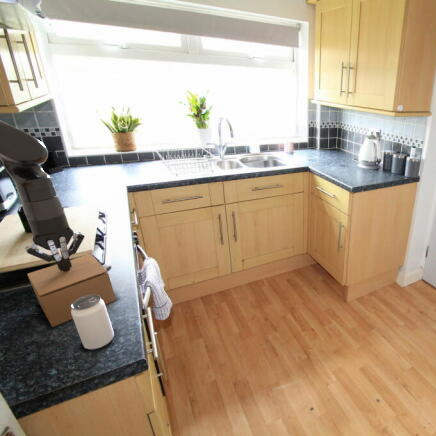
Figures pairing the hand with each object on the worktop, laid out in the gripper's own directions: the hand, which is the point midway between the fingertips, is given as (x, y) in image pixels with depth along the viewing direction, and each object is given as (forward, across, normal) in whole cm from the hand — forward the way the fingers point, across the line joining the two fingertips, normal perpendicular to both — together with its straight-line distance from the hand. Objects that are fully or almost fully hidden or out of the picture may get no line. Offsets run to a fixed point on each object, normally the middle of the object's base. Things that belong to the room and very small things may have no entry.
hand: (66, 269), depth 89 cm
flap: (0, 0, -2) cm, 2 cm away
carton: (+10, 0, +2) cm, 10 cm away
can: (+10, +1, +23) cm, 25 cm away
